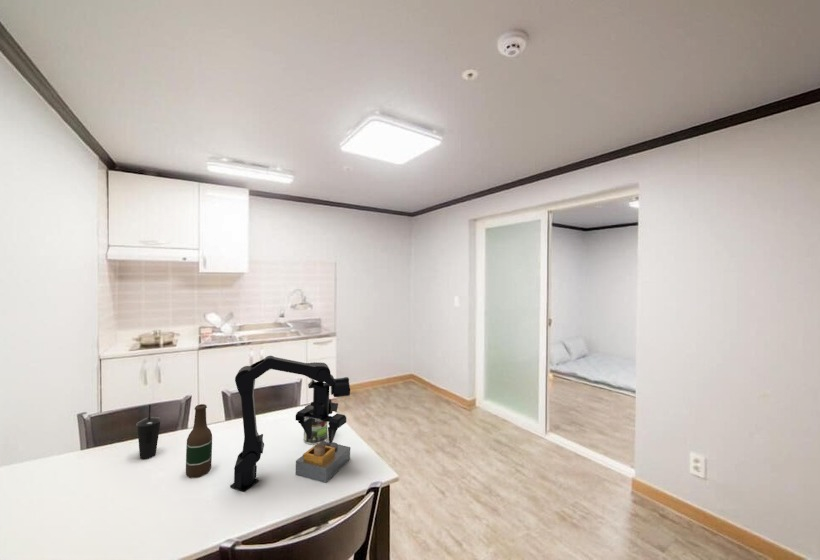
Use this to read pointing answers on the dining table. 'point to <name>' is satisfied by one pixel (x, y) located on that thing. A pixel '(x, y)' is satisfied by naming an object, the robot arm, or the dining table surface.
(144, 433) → the drinking cup
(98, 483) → the dining table surface
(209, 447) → the beer bottle
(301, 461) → the grey block with socket
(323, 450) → the wooden plug
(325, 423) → the coffee can
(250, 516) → the dining table surface
